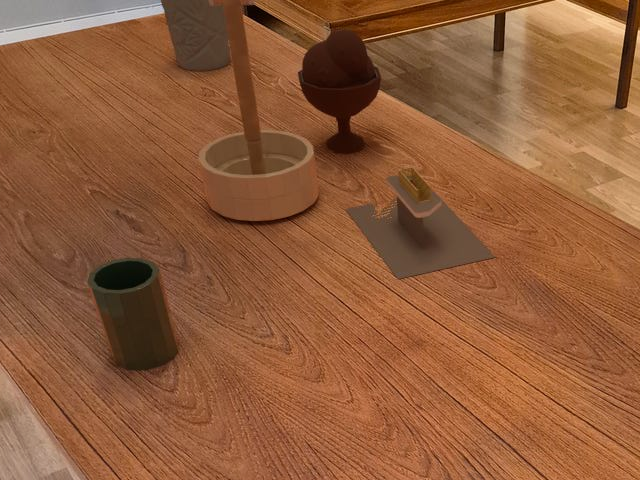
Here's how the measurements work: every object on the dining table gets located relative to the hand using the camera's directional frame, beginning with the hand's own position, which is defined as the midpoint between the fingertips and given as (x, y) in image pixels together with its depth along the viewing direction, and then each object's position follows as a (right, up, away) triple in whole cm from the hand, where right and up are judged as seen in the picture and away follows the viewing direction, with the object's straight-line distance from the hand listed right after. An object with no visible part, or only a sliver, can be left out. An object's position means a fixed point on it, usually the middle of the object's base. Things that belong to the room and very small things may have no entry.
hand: (232, 4), depth 96 cm
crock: (-6, -39, -9) cm, 40 cm away
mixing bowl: (0, -16, +15) cm, 22 cm away
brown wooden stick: (0, -14, +13) cm, 20 cm away
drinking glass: (-19, +17, +51) cm, 57 cm away
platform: (+19, -22, +10) cm, 31 cm away
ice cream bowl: (+8, -5, +28) cm, 29 cm away
